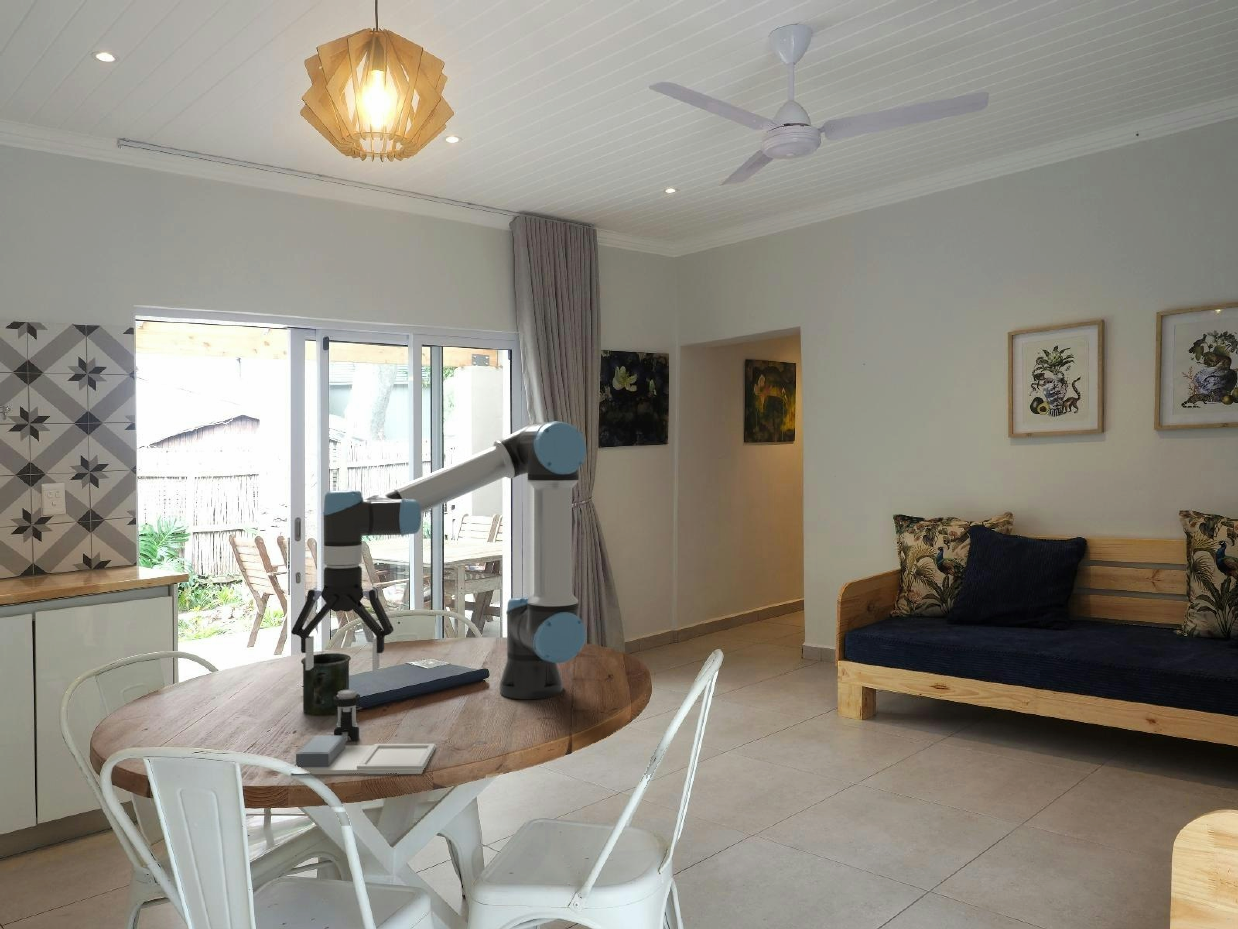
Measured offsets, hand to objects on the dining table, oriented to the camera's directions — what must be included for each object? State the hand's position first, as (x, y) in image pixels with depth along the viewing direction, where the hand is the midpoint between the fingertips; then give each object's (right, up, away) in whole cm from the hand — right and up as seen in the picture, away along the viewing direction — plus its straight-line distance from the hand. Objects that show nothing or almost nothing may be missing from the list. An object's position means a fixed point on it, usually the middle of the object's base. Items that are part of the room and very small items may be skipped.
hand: (342, 669), depth 188 cm
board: (+8, -15, -13) cm, 21 cm away
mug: (-10, -15, +20) cm, 27 cm away
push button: (0, -15, 0) cm, 15 cm away
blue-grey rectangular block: (0, -14, -13) cm, 19 cm away
